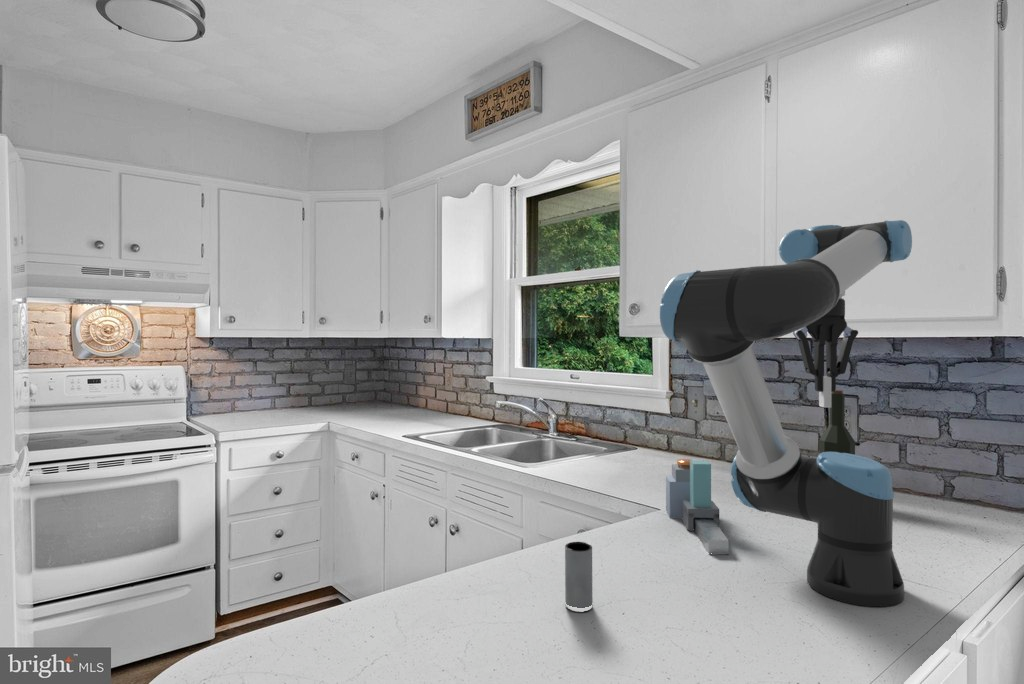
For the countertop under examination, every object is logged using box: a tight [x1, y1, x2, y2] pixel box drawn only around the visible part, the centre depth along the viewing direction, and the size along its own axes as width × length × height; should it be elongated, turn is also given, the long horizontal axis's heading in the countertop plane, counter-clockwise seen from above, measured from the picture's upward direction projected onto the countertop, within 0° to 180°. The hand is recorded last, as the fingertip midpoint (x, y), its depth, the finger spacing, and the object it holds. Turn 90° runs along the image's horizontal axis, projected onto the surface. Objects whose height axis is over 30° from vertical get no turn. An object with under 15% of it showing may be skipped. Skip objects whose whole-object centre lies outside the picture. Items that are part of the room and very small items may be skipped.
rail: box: [693, 518, 730, 555], centre depth 137 cm, size 23×4×3 cm, turn 175°
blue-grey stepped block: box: [665, 463, 690, 519], centre depth 153 cm, size 6×9×12 cm, turn 85°
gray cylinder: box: [564, 541, 594, 608], centre depth 102 cm, size 4×4×10 cm
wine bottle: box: [818, 389, 856, 455], centre depth 161 cm, size 8×8×30 cm
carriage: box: [682, 459, 720, 531], centre depth 143 cm, size 7×7×15 cm
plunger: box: [676, 458, 691, 469], centre depth 153 cm, size 4×4×8 cm
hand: (825, 406), depth 133 cm, fingers closed
